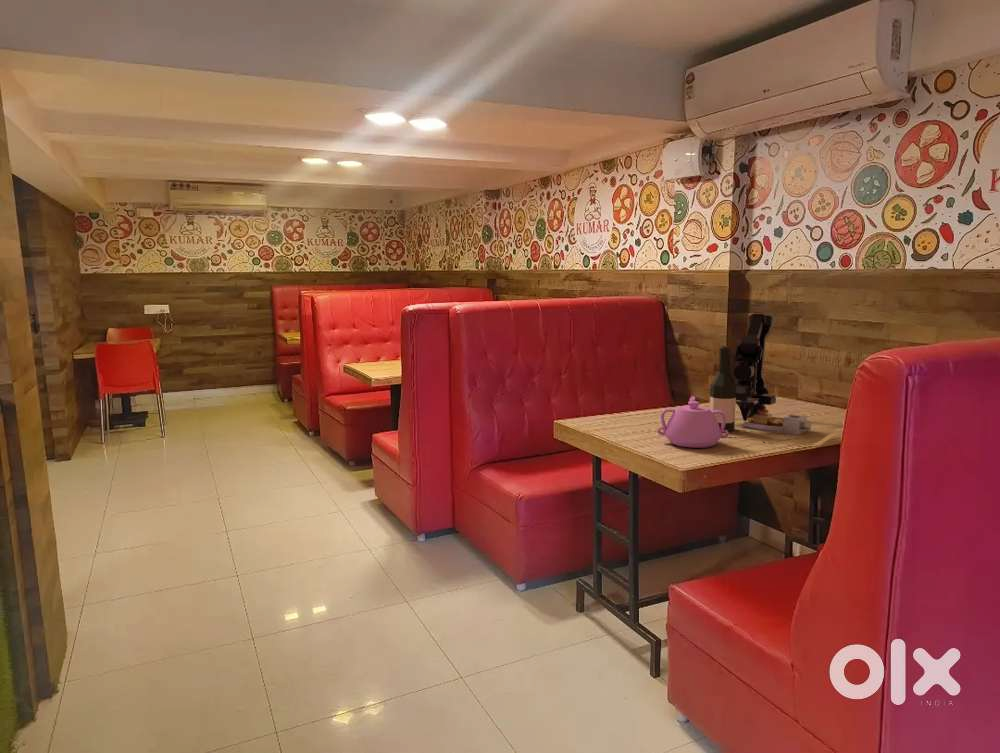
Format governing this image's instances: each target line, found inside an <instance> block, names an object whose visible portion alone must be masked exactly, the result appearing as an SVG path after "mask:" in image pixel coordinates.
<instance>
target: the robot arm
mask: <svg viewBox="0 0 1000 753" xmlns="http://www.w3.org/2000/svg"><path fill="white" fill-rule="evenodd" d="M774 325H775V320H774V317H773V316H772V315H770V314H769V315H768V314H765V313H756V312H755V313H751V314H750V315H748V319H747V326H748V328H747V331H746V335H745V336H744V337H743V338H740V341H739V344H737V345H736V350H735V351H736V352H735V356H734V362H737V363H739V364H738V365H737V366H736V367H735V368H734V370H733V376H734V378H735V379H737V381H736V382H737V383H736V405H737V406H738V408H739V410H740V413H741V416H742V420H743V421H744V422H748V416H749V415H752V416H754V414H756V413H758V412H757V411H758V409H766V410H767V406H771V405H774V404H776V402H777V397H776V395H775V394H771V393H769V390H768V387H767V383H766V381H765V379H764V377H763V372H764V364H765V363H764V362H765V353H766V342H767V338H768V337H769V336H770V335H771V333H772V329H773V328H774Z"/></svg>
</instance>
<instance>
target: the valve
mask: <svg viewBox="0 0 1000 753" xmlns="http://www.w3.org/2000/svg"><path fill="white" fill-rule="evenodd" d="M757 412H758V413H756V414H754V416H752V415H749V416H748V419H747V422H749V423H756V424H764V425H771V426H779V427H781V426H782V423H783V418H782V419H781V418H775V417H774V418H773V414H772V413H769V410H768V409H767V408H766V409H758V411H757Z"/></svg>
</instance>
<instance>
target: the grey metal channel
mask: <svg viewBox="0 0 1000 753" xmlns="http://www.w3.org/2000/svg"><path fill="white" fill-rule="evenodd" d="M743 425H744V426H742V427H741V428H740V429H746V430H752V431H759V432H760V431H761V432H767V433H775V434H780V435H781V434H782V435H789V436H797V437H798V436H800V435H802V434H804V433H805V432H807V431H811V429H812V423H811V422H808V416H807V415H799V414H790V413H789V414H788V416H784V417H783V418H782V426H781V427H779V426H771V425H764V424H756V423H749V422H748V421H744V424H743Z"/></svg>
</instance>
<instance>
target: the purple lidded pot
mask: <svg viewBox="0 0 1000 753" xmlns="http://www.w3.org/2000/svg"><path fill="white" fill-rule="evenodd" d="M687 403H688V405H680V406H678V407H676V409H673V408H666V409H664V410H663V411H661V414H660V421H661V425H662V426H659V427H658V428H657V435H659V436H665V437H666V439H668V441H669V442H670V443H671V444H672V445H676V446H678V447H680V448H681V447H683V448H685V447H686V448H700V449H701V448H703V449H706V448H709V447H713V446H715V445H716V444H717V443H718V441H720V439H723V440H724V439H726V438H728V437H729V433H730V432H728V431H727V430H724V427H725V424H726V419H727V418H726V415H725V413H724V412H722V411H720V410H714V411H711V410H710V407H706V406H700V402H699V401H696V397H695V396H694V395H691V396H690V397H689V401H688V402H687ZM666 413H672V414H671V416H670V417H669V419H668V421H667V422H666V420H665V414H666ZM714 414H721V415H722V416H723V422H722V425H721V428H720V427H719V424H718V422H717V420H716V418H715V416H714ZM661 430H663V432H662V431H661ZM724 433H725V434H724Z"/></svg>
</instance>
